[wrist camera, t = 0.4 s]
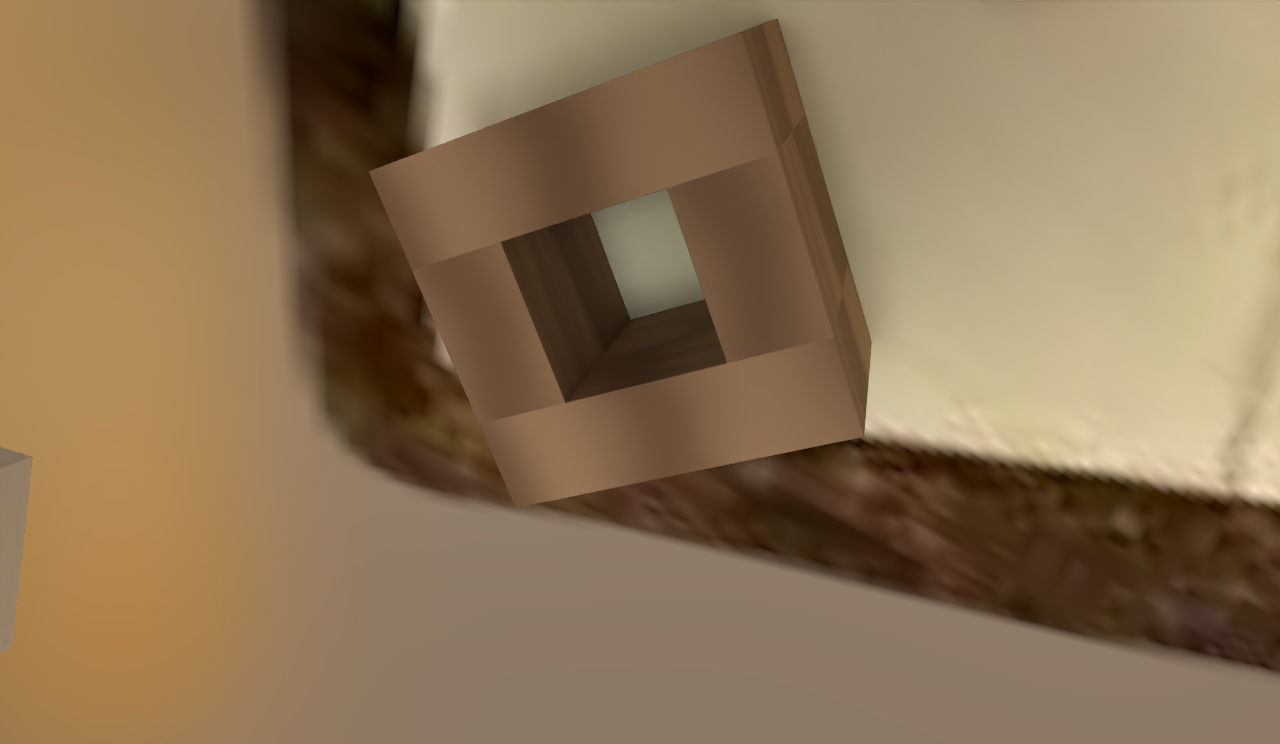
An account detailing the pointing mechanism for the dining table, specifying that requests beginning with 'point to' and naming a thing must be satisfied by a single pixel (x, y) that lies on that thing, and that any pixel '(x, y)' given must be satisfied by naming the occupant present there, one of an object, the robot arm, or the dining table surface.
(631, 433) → the hole block
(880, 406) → the dining table surface
